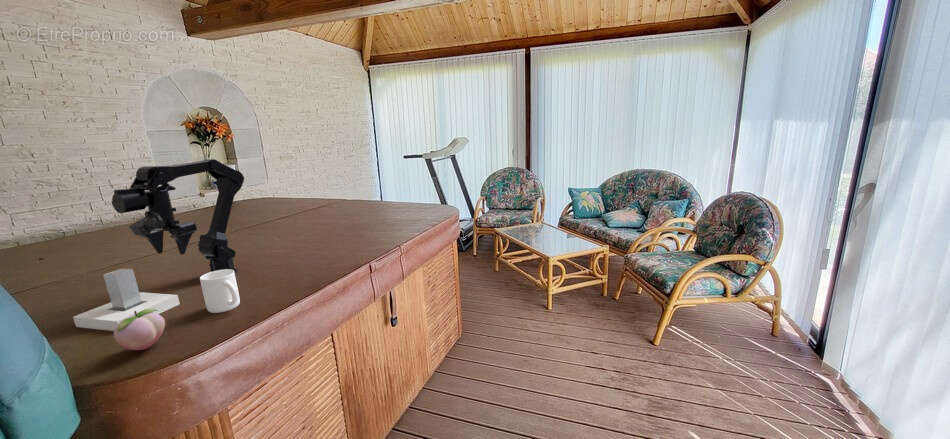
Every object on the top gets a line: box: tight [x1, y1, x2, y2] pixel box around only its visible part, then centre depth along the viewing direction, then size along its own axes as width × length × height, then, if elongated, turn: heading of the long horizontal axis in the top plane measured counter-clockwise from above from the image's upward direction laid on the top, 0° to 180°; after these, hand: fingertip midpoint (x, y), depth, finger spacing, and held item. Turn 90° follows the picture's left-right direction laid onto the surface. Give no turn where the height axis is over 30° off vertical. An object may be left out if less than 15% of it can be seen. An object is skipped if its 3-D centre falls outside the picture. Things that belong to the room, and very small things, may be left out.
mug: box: [199, 269, 241, 314], centre depth 107 cm, size 12×8×10 cm
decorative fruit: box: [113, 309, 166, 351], centre depth 87 cm, size 9×8×10 cm
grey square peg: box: [102, 268, 142, 311], centre depth 105 cm, size 4×4×13 cm
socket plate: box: [72, 291, 180, 332], centre depth 106 cm, size 16×16×3 cm
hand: (171, 253), depth 119 cm, fingers open, 9 cm apart
